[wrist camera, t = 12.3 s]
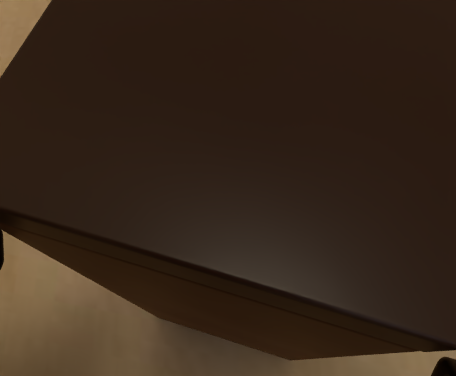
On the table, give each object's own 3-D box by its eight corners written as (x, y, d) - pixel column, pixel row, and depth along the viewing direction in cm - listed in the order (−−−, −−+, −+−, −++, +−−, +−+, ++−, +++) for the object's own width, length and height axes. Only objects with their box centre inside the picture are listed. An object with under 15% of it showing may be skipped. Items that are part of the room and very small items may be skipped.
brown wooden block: (292, 361, 15) (468, 352, 3) (156, 316, 16) (-77, 188, 4) (324, 216, 17) (492, -82, 6) (203, 184, 18) (138, -134, 6)
